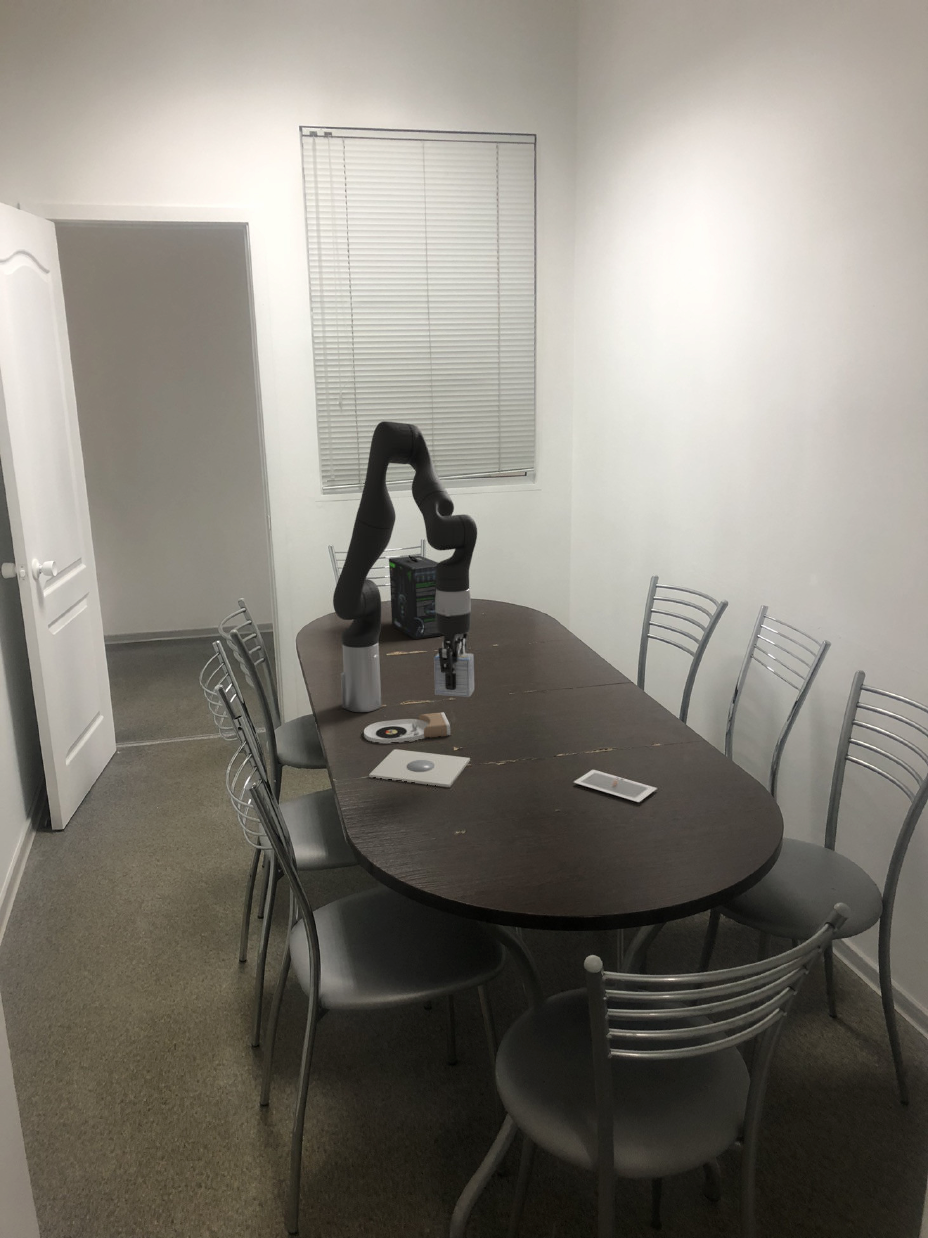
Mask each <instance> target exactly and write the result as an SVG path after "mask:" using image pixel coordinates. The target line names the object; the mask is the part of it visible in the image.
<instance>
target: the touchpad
mask: <svg viewBox="0 0 928 1238" xmlns="http://www.w3.org/2000/svg"><path fill="white" fill-rule="evenodd" d="M573 783H574V784H577V785H581V786H583V787H586V788H587V787H588V788H591V789H594V790H597V791H601V792H604V793H607V794H611V795H614V796H617V797H620V798H624V799H626V800H630V801H633V802H637V803H640V802H642V801H643V800H644V799H646V797H648V796H649V795H650V794H652V793H653V792H655V791H656V790H657V789H658V787H654V786H651V785H647V784H644V783H640V782H637V781H634V780H630V779H626V778H623V777H619V776H618V775H617V776H616V775H613V774H610V773H606V772H602V771H599V770H596V769H591V770H590V771H588V772H586V773H585V774H584V775H582V776H580V777H579V778H577V779H576V780H574V781H573Z"/></svg>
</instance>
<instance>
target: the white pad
mask: <svg viewBox="0 0 928 1238" xmlns="http://www.w3.org/2000/svg"><path fill="white" fill-rule="evenodd" d="M470 762H471V758H470V757H463V756H455V755H447V754H438V753H429V752H422V751H413V750H404V749H397V748H396V749H395V748H394V749H393V750H392V751H390V753H389V754H388V755H387V756H386V757H384V759H383V760H382V761H381V762H380V763H379V764H378V765H377V766H376V767H375V768H374V769H373V770H372V771H371V772H370V773H369V774H368V775H369V776H368V777H369V778H373V777H376V778H375V779H380V778H382V780H388V779H392V781H396V780H402V781H401V782H404V781H407V782H406V783H411V782H415V783H414V784H419V785H420V784H422V785H427V784H428V786H435V785H436V787H443V788H444V787H445V788H450V787H451V786H452V785H453V784H454V782H455V781H456V780H457V779H458V777H460V774H461V773H462V772H463V771H464V769H465V768H466V767H467V766H468V764H469V763H470Z"/></svg>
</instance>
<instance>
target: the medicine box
mask: <svg viewBox="0 0 928 1238" xmlns="http://www.w3.org/2000/svg"><path fill="white" fill-rule="evenodd" d="M454 658H455V657H452V659H454ZM474 659H475V658H474V654H473V653H464V654H461V653H460V655H459V661H458V663H456V689H455V690H447V689H446V688H445V673H441V667H440V659H439V652H438V653H437V654H436V655H435V656H434V657H433V663H434V664H433V668H434V671H433V673H434V695H437V696H449V697H450V696H452V697H467V698H470V697H471V696H472V694H473V693H474V692H475V661H474ZM448 667H449V665H448Z"/></svg>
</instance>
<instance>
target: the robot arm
mask: <svg viewBox="0 0 928 1238" xmlns="http://www.w3.org/2000/svg"><path fill="white" fill-rule="evenodd" d="M368 455H369V456H368V462H367V468H366V475H365V479H364V483H363V489H362V493H361V497H360V501H359V504H358V505H359V506H358V509H357V512H356V516H355V520H354V525H353V529H352V533H351V539H350V540H349V541H350V543H349V546H348V548H347V549H348V550H347V553H346V555H345V556H346V557H345V561H344V563H343V567H342V569H341V572H340V575H339V578H338V580H337V581H336V582H337V583H336V586H335V589H334V591H333V597H332V598H333V599H332V605H333V609H334V612H335V614H336V616H337V617H338V618H339V619H341V620H345V621H351V620H352V622H351V624H350V625H349V626H348V627H347V628H345V630H344V631H343V632H342V634H341V644H342V645H341V646H342V658H343V659H342V660H343V661H342V664H343V665H342V666H343V671H342V672H341V673H340V682H341V683H340V685H341V686H340V687H341V703H342V705H341V706H342V709H345V710H348V711H350V712H355V713H368V712H372V711H373V712H374V711H376V710H378V709H380V708H382V707H381V706H382V689H381V671H380V670H381V669H380V649H379V646H380V645H379V641H380V640H379V637H380V633H381V630H382V596H381V592H380V590H379V587H378V585H377V584H376V583H375V582H374V581H373V580H371V579H367V578H368V577H367V576H368V574H369V572H370V571H371V569H372V568H373V566H374V565H375V564H376V563H377V561H378V560H379V559H380V557H381V556H382V555H383V553H384V552H385V551H386V549H387V547H388V545H389V544H390V541H391V538H392V535H393V530H394V527H395V522H396V519H397V518H396V511H395V507H394V504H393V500H392V499H391V496H390V494H389V490H388V487H387V471H388V467H389V465H390V464H399V465H408V466H409V465H410V466H411V467H412V468H413V470H414V473H415V474H414V476H413V479H412V482H411V483H412V484H411V495H412V497H413V498H412V499H413V500H414V503H415V504H416V506H417V508H418V509H419V511H420V513H421V515H422V518H423V523H424V526H425V534H426V535H425V536H426V541H427V543H428V544H429V546H430V547H431V548H433V549H434V550H437V551H449V550H451V551H452V550H454V552H453V554H452V555H451V556H450V557H448V558H446V559H443V560H440V561H438V564H437V566H436V597H435V613H436V630H437V632H439V633H442V634H443V635H442V636H443V639H442V643H441V647H439V648H438V653H439V659H440V667H441V673H445V688H446V689H447V690H455V689H456V663H458V661H459V655H460V653H461V654H464V653H467V652H468V637H469V632H470V631H471V629H472V620H471V619H472V615H471V614H472V610H471V608H472V607H471V606H472V603H471V601H472V600H471V599H472V598H471V593H470V592H471V591H470V567H471V563H472V558H473V554H474V550H475V548H476V544H477V540H478V527H477V524H476V521H475V519H473V517H472V516H471V515H469V514H455V515H453V513H454V510H455V505H454V502H453V500H452V498H451V496H450V495H449V493H448V491H447V490H446V488H445V486H444V485H443V483H442V481H441V479H440V478H439V475H438V473H437V470H436V468H435V465H434V461H433V459H432V455H431V451H430V449H429V446H428V444H427V441H426V439H425V436H424V433H423V432H422V430H421V429H420V427H418V426H417V425H415V424H411V423H403V422H395V421H384V420H383V421H380V422H379V423H378V424H377V425H376V427H375V428H374V431H373V433H372V438H371V442H370V448H369V454H368ZM452 657H455V658H454V659H452ZM448 665H449V667H448Z"/></svg>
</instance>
